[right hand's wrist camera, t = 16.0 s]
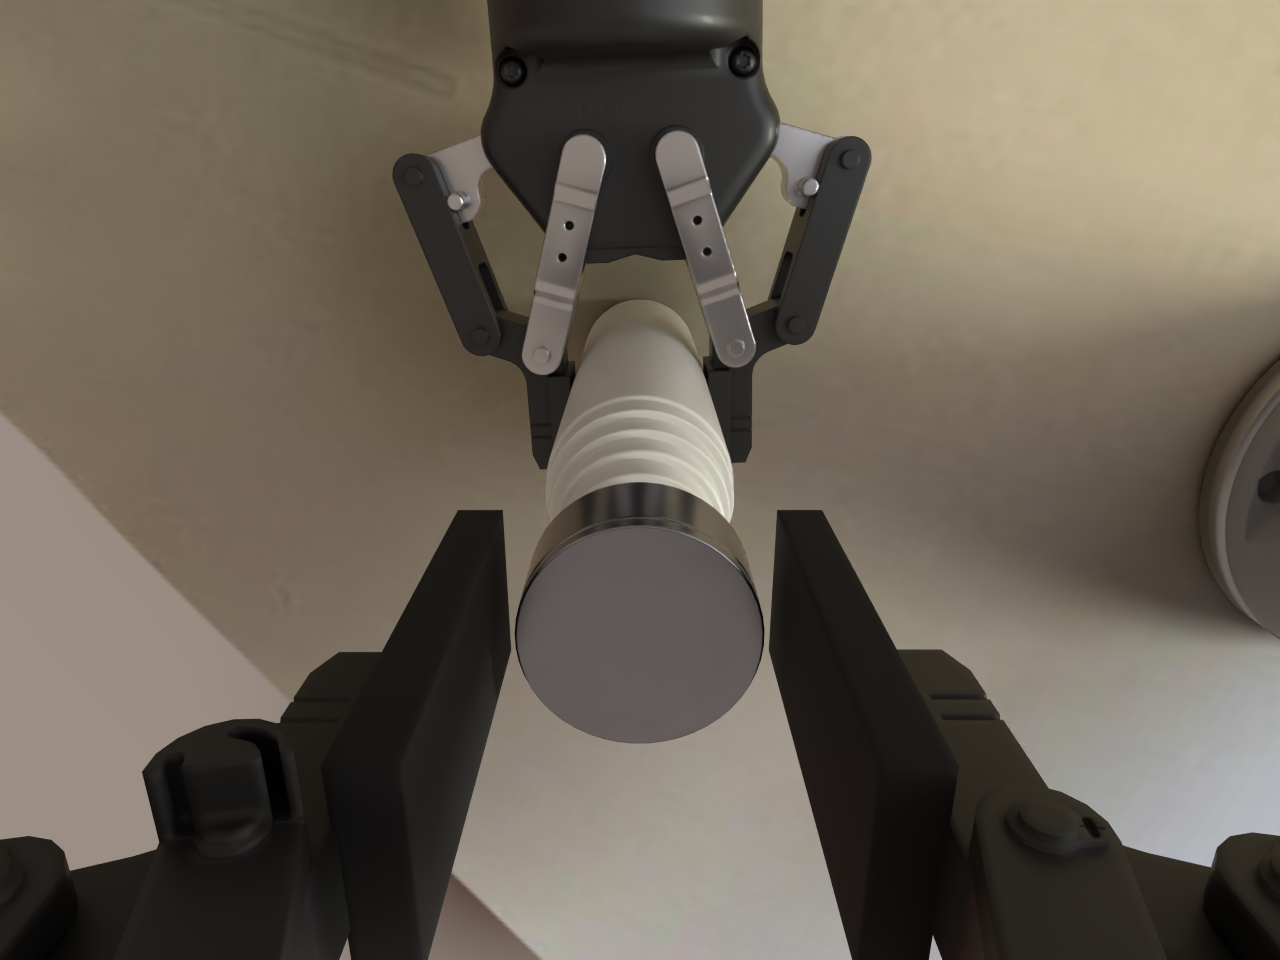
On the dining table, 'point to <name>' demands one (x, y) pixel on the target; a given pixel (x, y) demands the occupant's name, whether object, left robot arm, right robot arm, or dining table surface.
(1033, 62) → the dining table surface
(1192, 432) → the dining table surface
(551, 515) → the bottle
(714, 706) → the cap
